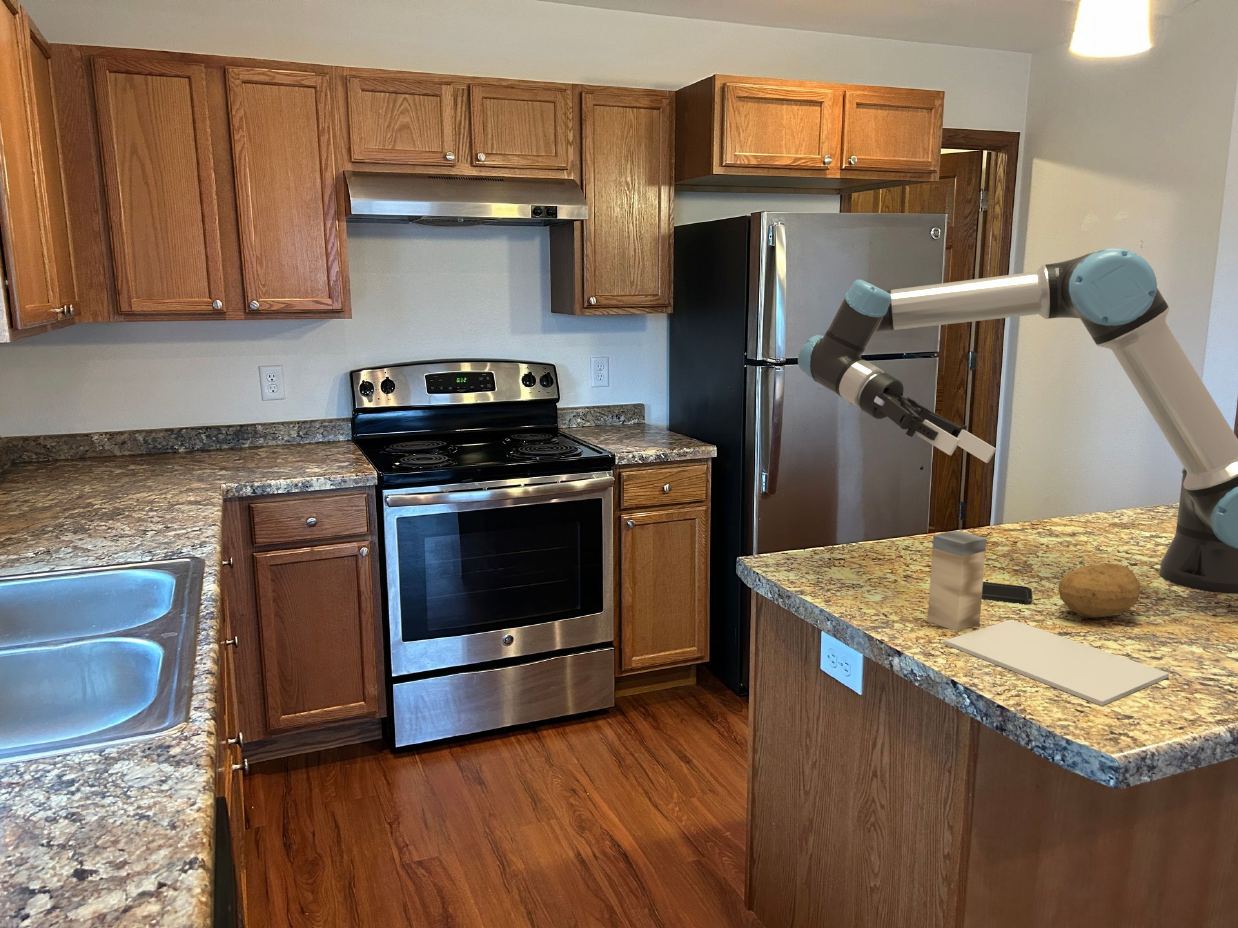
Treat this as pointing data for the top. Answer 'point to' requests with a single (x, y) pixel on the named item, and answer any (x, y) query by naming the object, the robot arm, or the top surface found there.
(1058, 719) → the top surface
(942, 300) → the robot arm
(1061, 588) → the potato
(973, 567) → the maple block
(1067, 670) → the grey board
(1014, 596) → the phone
